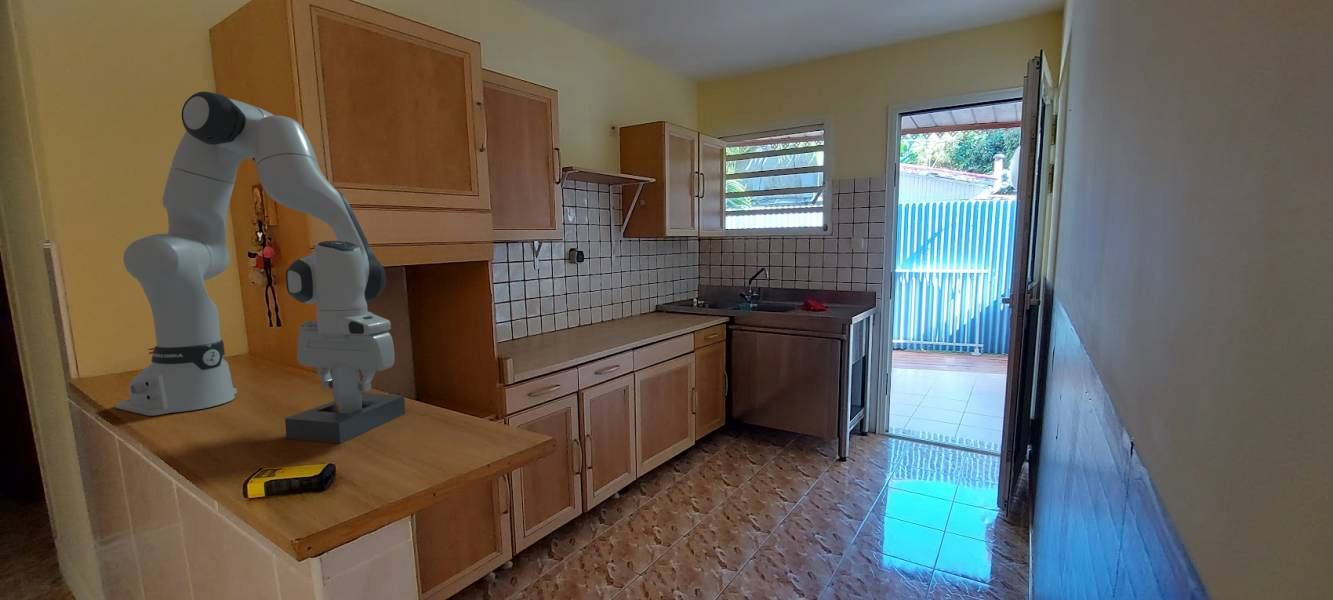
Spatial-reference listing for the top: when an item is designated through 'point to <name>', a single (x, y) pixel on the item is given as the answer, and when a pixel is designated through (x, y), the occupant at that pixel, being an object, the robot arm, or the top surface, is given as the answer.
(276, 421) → the top surface
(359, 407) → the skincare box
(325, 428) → the grey slotted block
